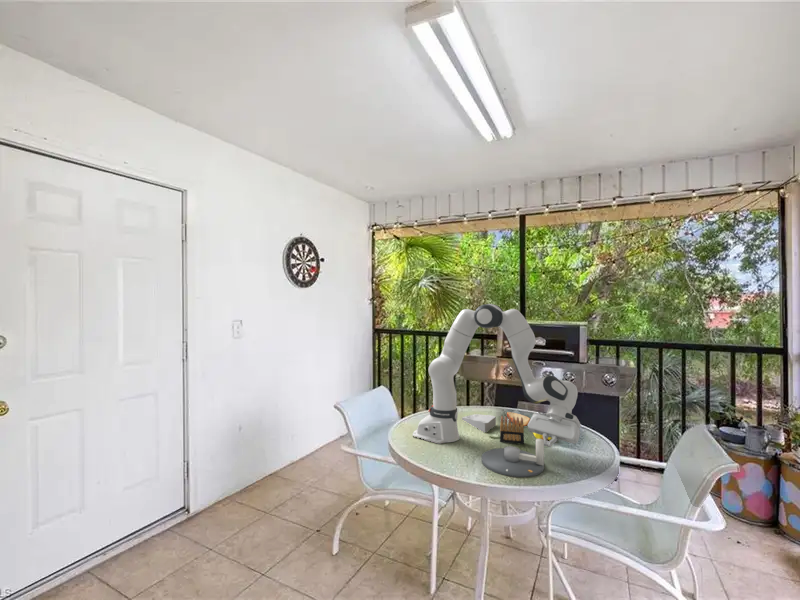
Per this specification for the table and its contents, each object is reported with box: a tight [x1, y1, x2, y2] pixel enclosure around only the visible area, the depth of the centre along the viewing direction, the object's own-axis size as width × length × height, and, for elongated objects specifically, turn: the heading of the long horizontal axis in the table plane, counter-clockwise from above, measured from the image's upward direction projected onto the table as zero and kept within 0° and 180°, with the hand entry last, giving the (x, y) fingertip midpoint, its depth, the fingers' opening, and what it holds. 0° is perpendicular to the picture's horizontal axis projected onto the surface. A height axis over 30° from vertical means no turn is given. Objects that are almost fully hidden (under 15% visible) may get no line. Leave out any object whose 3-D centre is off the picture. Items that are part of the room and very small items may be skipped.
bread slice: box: [506, 411, 531, 426], centre depth 206 cm, size 18×18×4 cm
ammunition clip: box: [499, 415, 525, 445], centre depth 174 cm, size 11×2×12 cm, turn 76°
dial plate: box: [481, 447, 545, 478], centre depth 150 cm, size 24×24×2 cm
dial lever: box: [504, 438, 545, 466], centre depth 148 cm, size 15×6×9 cm, turn 64°
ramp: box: [461, 413, 497, 433], centre depth 200 cm, size 28×16×5 cm, turn 3°
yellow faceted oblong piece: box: [532, 432, 552, 441], centre depth 182 cm, size 18×7×8 cm
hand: (546, 445), depth 150 cm, fingers closed
